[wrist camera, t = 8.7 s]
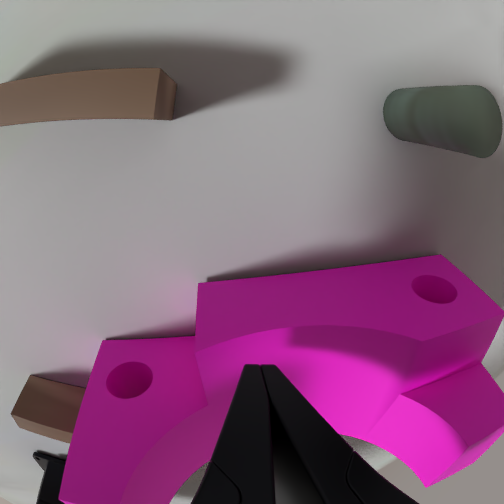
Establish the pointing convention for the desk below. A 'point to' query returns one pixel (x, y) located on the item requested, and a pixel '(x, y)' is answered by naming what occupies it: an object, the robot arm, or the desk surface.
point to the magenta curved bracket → (297, 375)
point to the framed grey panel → (161, 108)
